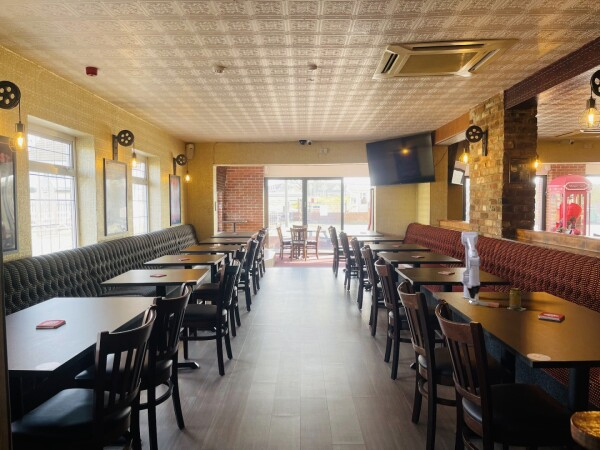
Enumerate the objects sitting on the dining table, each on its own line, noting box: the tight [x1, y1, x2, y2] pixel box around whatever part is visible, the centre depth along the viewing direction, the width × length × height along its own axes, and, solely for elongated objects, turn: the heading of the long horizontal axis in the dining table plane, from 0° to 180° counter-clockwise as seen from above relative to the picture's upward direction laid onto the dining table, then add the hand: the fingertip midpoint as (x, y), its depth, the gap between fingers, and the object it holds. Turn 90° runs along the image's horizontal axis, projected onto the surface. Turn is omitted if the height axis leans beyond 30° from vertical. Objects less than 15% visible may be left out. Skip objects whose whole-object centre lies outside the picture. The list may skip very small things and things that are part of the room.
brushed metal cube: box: [468, 292, 479, 301], centre depth 272 cm, size 4×4×4 cm
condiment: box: [508, 287, 526, 311], centre depth 258 cm, size 7×8×12 cm
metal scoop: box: [467, 299, 500, 308], centre depth 268 cm, size 18×7×4 cm, turn 48°
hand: (473, 297), depth 272 cm, fingers closed on brushed metal cube, 4 cm apart
